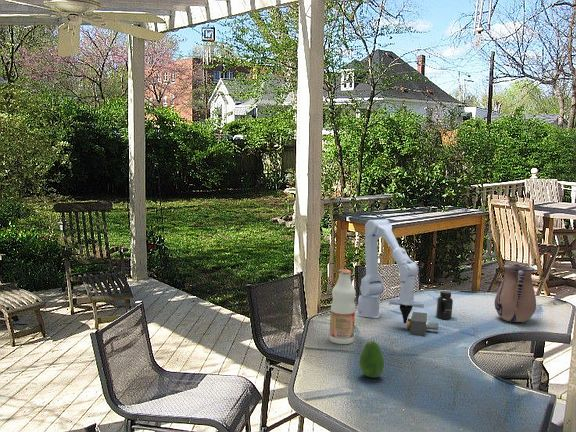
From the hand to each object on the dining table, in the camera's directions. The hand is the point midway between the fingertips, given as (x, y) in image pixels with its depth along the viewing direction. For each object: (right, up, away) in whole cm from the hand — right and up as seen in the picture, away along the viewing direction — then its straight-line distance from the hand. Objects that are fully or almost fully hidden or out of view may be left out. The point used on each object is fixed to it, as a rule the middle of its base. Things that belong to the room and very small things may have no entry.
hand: (405, 322), depth 252 cm
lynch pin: (+7, -3, -2) cm, 8 cm away
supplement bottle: (+21, -1, +19) cm, 29 cm away
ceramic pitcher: (+53, -3, +18) cm, 56 cm away
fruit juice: (-29, -4, -19) cm, 34 cm away
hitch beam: (+5, -3, -1) cm, 6 cm away
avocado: (-22, -9, -54) cm, 59 cm away
